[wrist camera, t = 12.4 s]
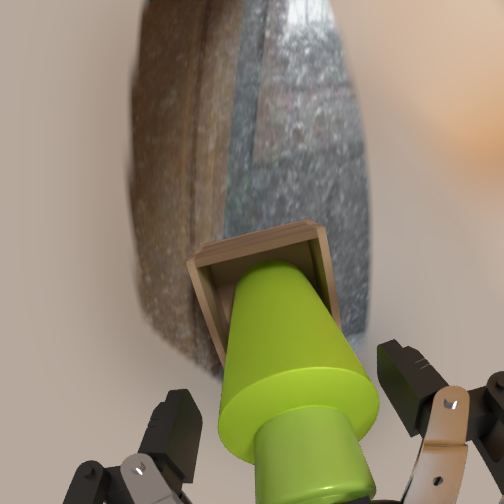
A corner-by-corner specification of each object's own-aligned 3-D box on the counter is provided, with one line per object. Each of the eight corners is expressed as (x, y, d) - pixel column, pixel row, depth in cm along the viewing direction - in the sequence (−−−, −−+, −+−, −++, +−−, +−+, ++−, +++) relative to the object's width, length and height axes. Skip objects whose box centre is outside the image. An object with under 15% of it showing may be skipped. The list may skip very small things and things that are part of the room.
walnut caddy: (199, 245, 21) (185, 261, 16) (307, 218, 20) (324, 227, 16) (233, 349, 23) (229, 384, 18) (328, 326, 22) (344, 357, 18)
